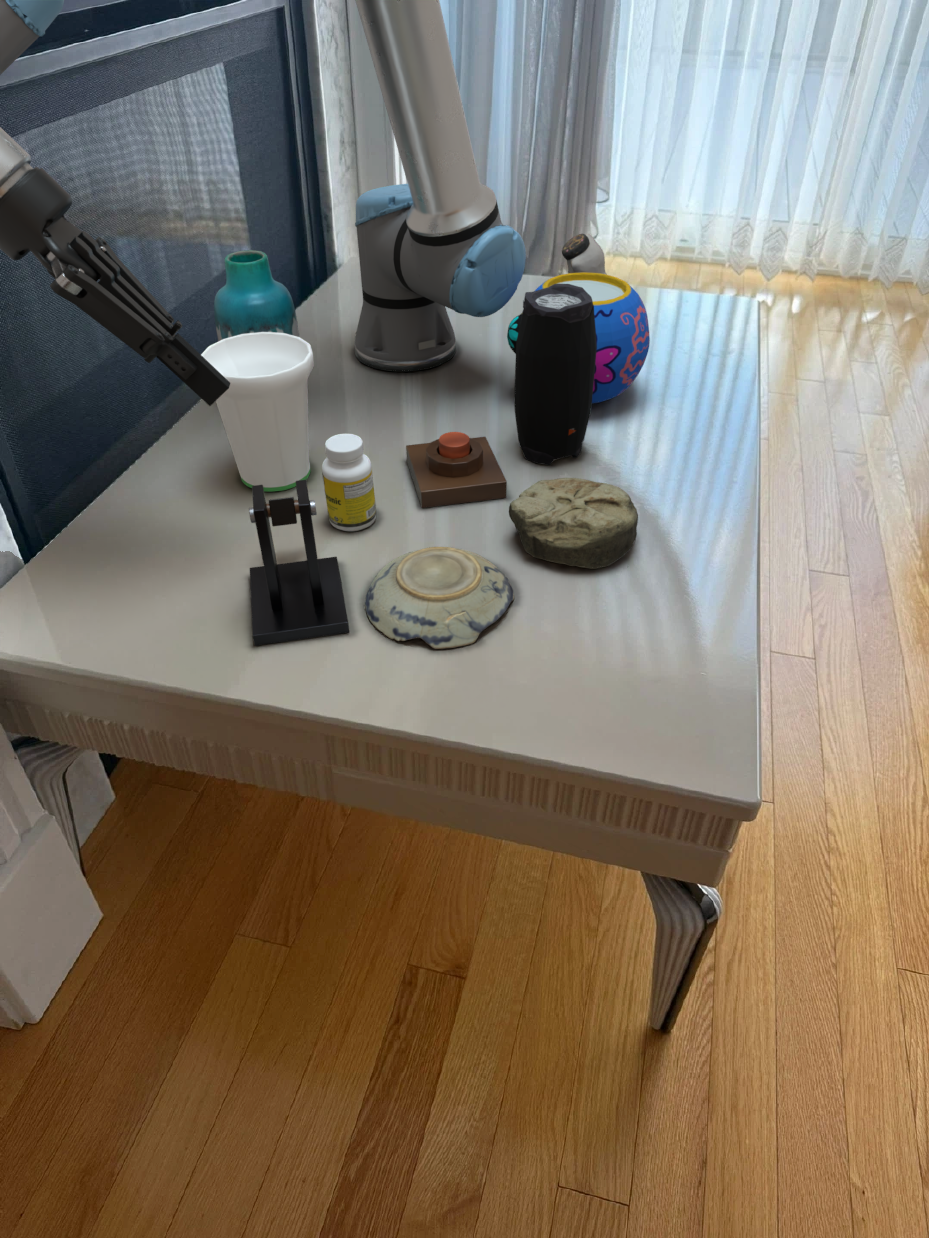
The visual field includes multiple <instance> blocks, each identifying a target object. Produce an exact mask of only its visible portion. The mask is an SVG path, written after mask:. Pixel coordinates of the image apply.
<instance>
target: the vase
mask: <svg viewBox="0 0 929 1238" xmlns="http://www.w3.org/2000/svg"><path fill="white" fill-rule="evenodd" d="M269 261H270V260H269V257H268V255H267V254H266V253H265V252H264V251H261V250H255V249H251V250H250V249H246V250H245V249H244V250H238V251H234V252H231V253H228V254H227V255H226V256H225V257H224V268H225V279H226V281H225V284H224V286H222V287H220V288H219V290H217V292H216V294H215V296H214V301H213V303H214V304H213V313H214V315H213V316H214V323H215V330H216V335H217V342H219V341H221V340H223V339H226V338H229V337H233V336H237V335H241V334H247V333H257V332H275V333H285V334H289V335H293V336H297V337H300V330H299V324H298V319H297V313H296V307H295V305H294V301H293V298H292V295H291V293H290V291H289V289H288V288H287V287H286V285H284V284H283V283H282V282H279V281H277V280H275V279H274V277H273V275H272V271H271V265H270V262H269Z"/></svg>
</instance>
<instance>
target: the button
mask: <svg viewBox="0 0 929 1238" xmlns="http://www.w3.org/2000/svg"><path fill="white" fill-rule="evenodd" d="M470 438H471V437H470V436H469V435H468V434H466V433H464V432H461V431H460V432H459V431H449V432H445V433H443V434H441V435H440V436H439V438H438V439H439V454H440V455H441V456H443V457H445V458H451V459H456V458H463V457H465V456H467V455H469V453H470Z"/></svg>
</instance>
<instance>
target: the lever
mask: <svg viewBox="0 0 929 1238" xmlns="http://www.w3.org/2000/svg"><path fill="white" fill-rule="evenodd" d="M266 505H267V511H268V516H269V518H270V520H271V526H272V527H281V526H288V525H295V524H296V525H297V523H298V518H297V515H300V512H299V505H298V499H295V498H294V496H288V497H287V496H286V497H280V498H272V499H269V500H268V502H266Z"/></svg>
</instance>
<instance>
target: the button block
mask: <svg viewBox="0 0 929 1238" xmlns="http://www.w3.org/2000/svg"><path fill="white" fill-rule="evenodd" d="M469 438H470V453H469V455H467V456H465V457H463V458H456V459H451V458H445V457H443V456H441V455H440V454H439V438H438V439H435V440H433V441H431V442H426V443H425V442H424V443H416V444H408V445H407V444H406V445H405V451H406V452H405V453H406V454H405V455H406V463H407V466H408V469H409V472H410V476H411V479H412V481H413V484H414V488H415V490H416V491H415V492H416V494H417V497H418V500H419V503H420V506H421V509H425V508H426V509H427V508H433V507H442V506H451V505H459V504H467V503H475V502H482V501H491V500H499V499H507V480H506V478H505V475H504V473H503V471H502V468H501V467H500V465H499V462H498V461H497V458H496V456H495V453H494V452H493V450H492V448H491V446H490V443H489V441H488V439H487V437H486V436H478V437H469Z"/></svg>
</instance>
